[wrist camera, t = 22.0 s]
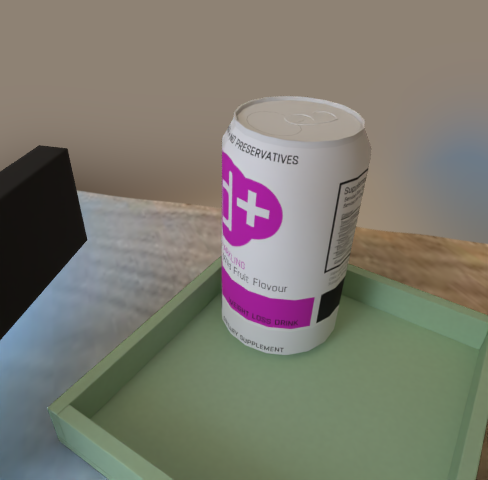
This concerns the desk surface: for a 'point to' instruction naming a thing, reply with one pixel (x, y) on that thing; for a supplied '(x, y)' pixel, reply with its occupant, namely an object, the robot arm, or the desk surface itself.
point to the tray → (288, 394)
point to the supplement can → (289, 218)
